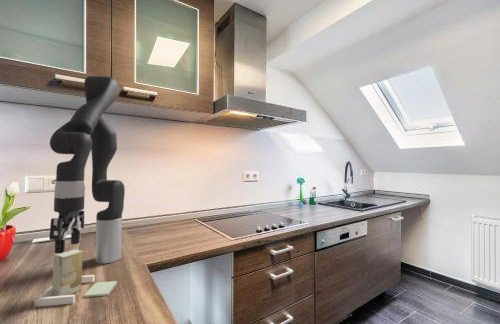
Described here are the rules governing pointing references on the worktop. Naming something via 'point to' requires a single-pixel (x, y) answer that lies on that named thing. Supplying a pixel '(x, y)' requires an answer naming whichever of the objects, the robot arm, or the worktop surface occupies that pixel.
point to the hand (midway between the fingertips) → (67, 248)
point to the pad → (100, 289)
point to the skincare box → (67, 273)
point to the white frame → (59, 300)
